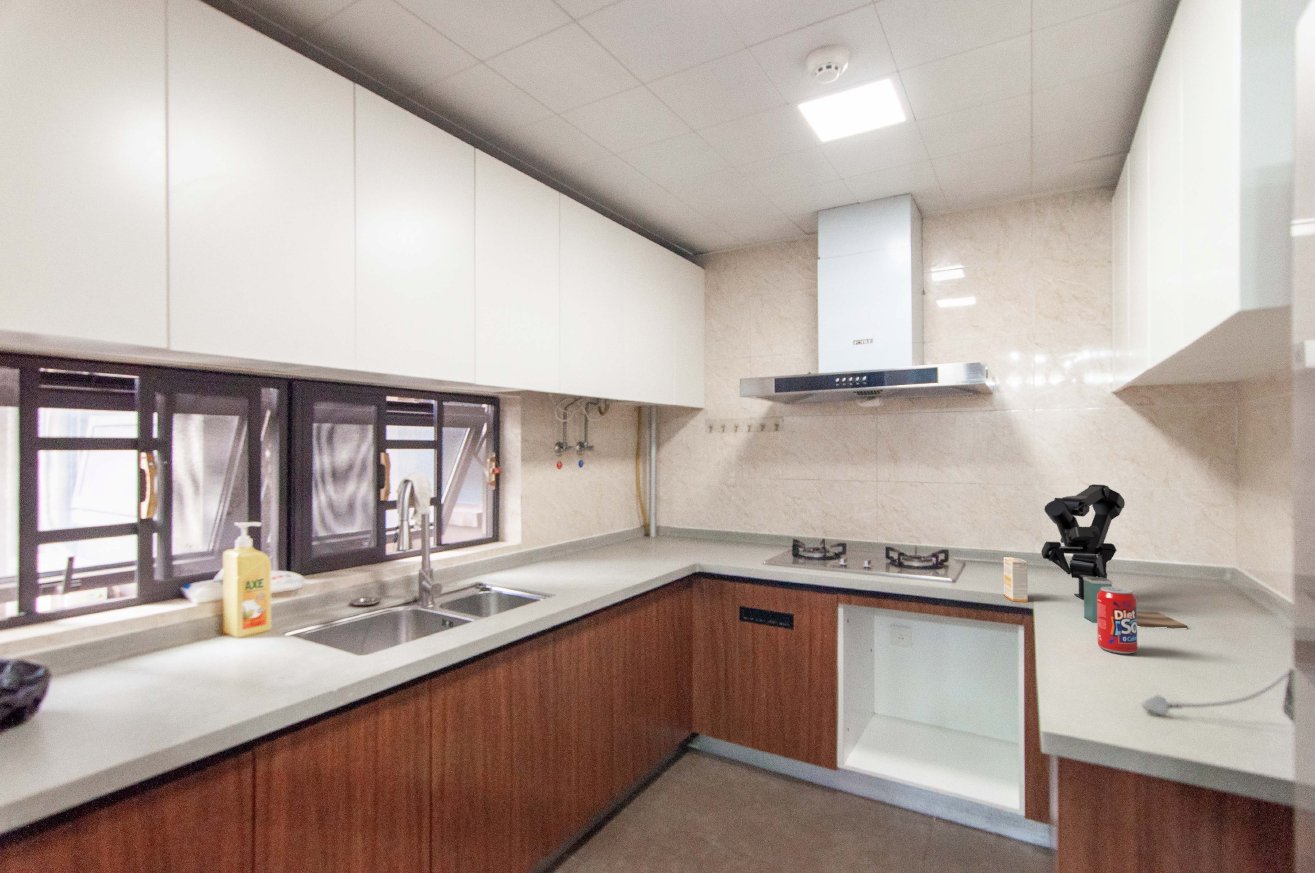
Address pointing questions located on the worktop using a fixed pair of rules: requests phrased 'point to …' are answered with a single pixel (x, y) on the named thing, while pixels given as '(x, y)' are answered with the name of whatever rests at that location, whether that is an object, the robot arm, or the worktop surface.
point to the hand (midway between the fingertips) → (1087, 574)
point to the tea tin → (1093, 595)
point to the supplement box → (1015, 579)
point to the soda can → (1117, 620)
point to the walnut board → (1157, 620)
